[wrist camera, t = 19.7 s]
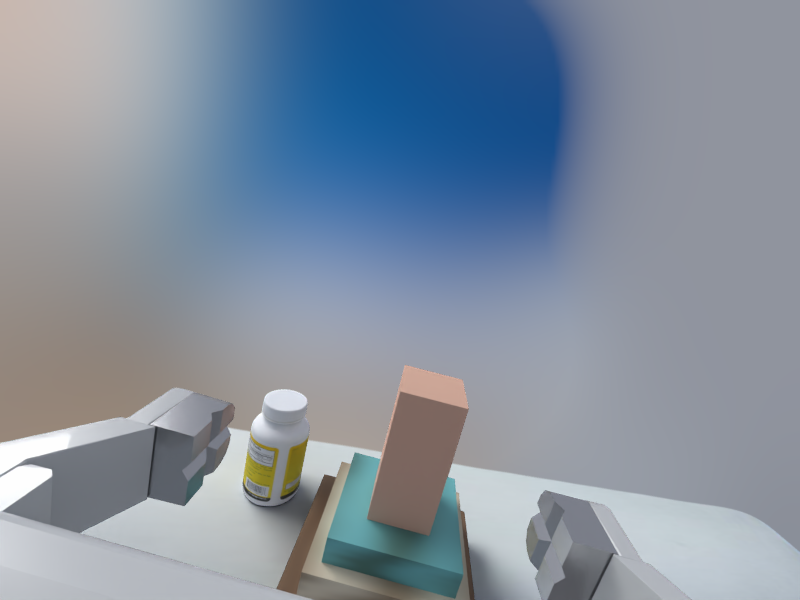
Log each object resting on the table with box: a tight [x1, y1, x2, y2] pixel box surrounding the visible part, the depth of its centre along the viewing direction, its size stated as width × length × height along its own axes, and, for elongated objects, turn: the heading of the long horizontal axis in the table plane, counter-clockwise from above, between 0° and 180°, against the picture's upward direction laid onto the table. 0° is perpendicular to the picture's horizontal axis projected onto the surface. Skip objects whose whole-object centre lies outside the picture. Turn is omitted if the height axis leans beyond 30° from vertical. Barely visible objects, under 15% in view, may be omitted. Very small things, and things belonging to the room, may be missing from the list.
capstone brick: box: [367, 365, 469, 536], centre depth 27 cm, size 4×4×10 cm
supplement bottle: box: [243, 390, 310, 506], centre depth 36 cm, size 5×5×10 cm
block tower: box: [277, 453, 475, 600], centre depth 29 cm, size 14×14×8 cm
